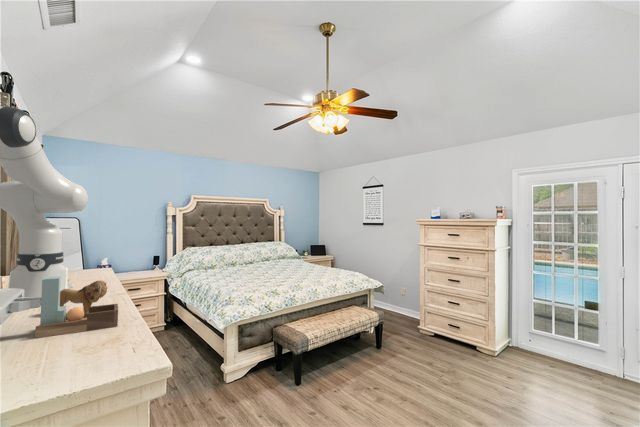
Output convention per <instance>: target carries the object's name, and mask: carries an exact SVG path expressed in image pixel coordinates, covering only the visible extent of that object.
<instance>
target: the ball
mask: <svg viewBox="0 0 640 427" xmlns="http://www.w3.org/2000/svg"><path fill="white" fill-rule="evenodd" d="M83 317H84V308H81V307H72V308H71V309H69V310H68V311H66V319H67V320H68V321H69V322H70V321H78V320H81V319H82V318H83Z"/></svg>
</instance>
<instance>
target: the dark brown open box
mask: <svg viewBox="0 0 640 427" xmlns="http://www.w3.org/2000/svg"><path fill="white" fill-rule="evenodd" d="M118 305H119V304H118V303H112V304H102V305H95V306H93V305H91V307H89V313H87V331H86V332H89V331H94V330H102V329H109V328H114V327H116V328H117V327H118V325H119V324H118V323H119V320H118V319H119V306H118Z"/></svg>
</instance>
